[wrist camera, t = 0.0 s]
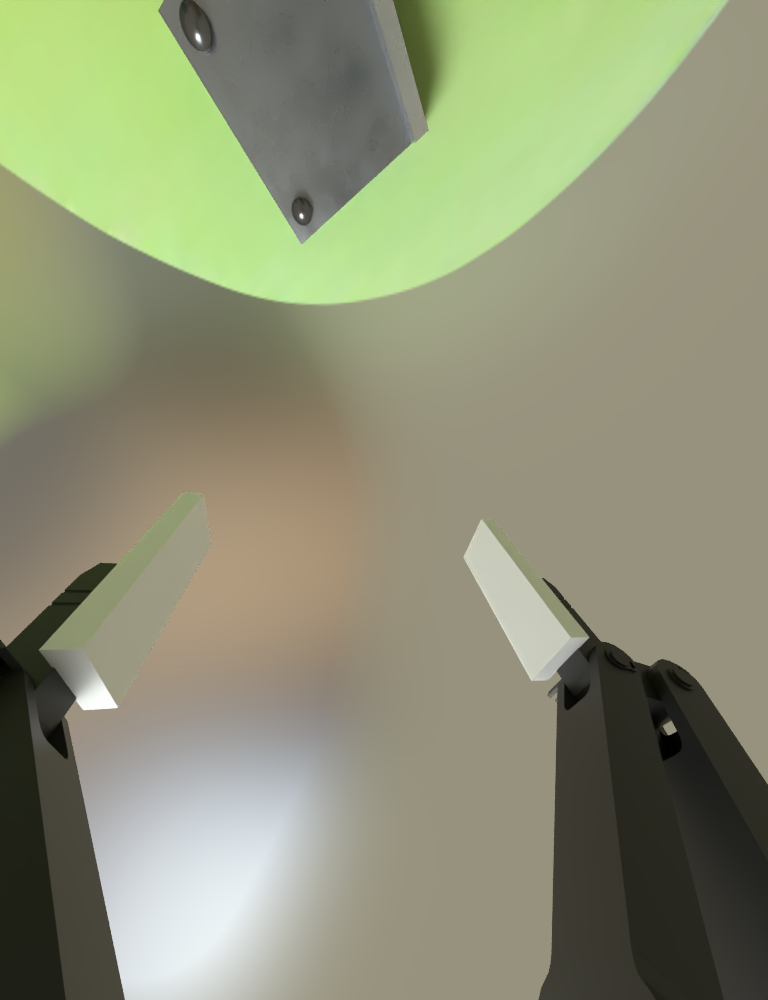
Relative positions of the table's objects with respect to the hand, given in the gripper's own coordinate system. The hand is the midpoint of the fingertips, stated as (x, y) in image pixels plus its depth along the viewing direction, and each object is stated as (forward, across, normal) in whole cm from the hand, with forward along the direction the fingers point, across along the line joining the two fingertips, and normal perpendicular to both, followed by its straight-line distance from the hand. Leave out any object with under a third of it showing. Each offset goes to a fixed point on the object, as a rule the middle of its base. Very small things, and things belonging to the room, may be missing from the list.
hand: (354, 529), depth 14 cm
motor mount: (+22, -5, +22) cm, 32 cm away
